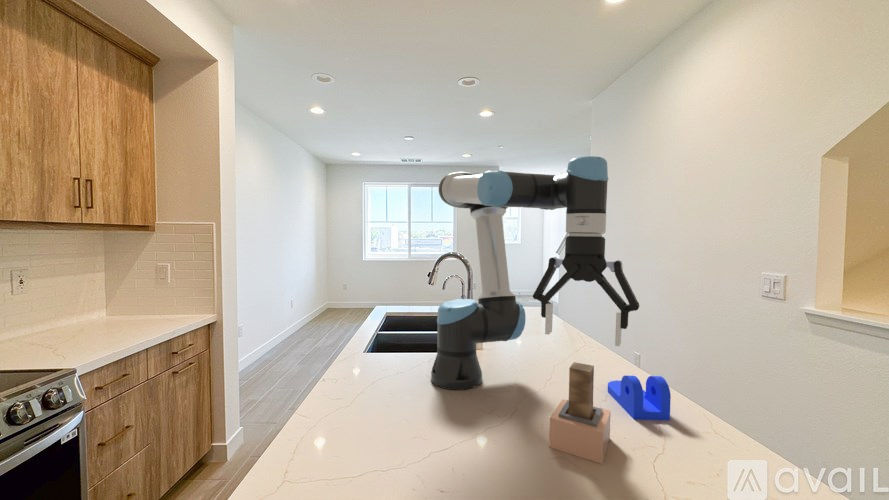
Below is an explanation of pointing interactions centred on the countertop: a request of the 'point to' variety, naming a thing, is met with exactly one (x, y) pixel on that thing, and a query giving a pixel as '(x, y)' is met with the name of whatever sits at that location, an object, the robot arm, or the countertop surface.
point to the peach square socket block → (580, 432)
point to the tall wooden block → (581, 390)
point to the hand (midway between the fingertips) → (581, 338)
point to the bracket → (642, 397)
